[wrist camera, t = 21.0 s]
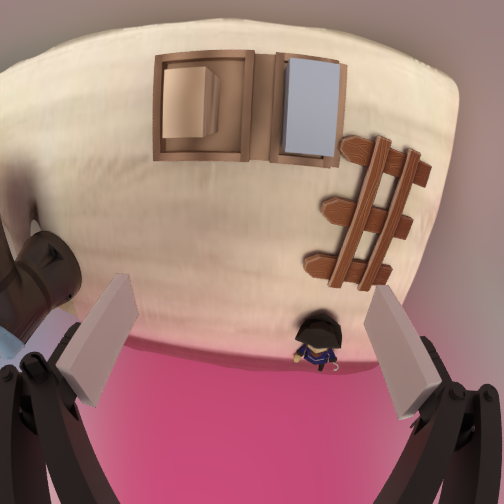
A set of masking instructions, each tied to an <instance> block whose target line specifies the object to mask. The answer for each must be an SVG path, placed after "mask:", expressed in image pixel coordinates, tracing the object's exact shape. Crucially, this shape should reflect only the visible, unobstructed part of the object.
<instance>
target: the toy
mask: <svg viewBox="0 0 504 504" xmlns="http://www.w3.org/2000/svg"><path fill="white" fill-rule="evenodd" d="M295 340H297V341H300V342H302V343H305V344H304V345H303V346H302V347H301V348H300V349H299V350H297V352H296V354H295V355H294V362H299V360H300V357H302V356H303V355H304V351H305V350H306V349H307V351H306V352H305V356H304V359H306V360H307V361H309V362H311V363H312V364H314V365H316V364H319V369H318V371H322V370H323V367H324V364H325V363H327V361H328V360H329V362H333V363H334V362H336V361H337V357H335V354H334V352H333V350H332V348H341V343H342V333H341V327H340V325H339V324H338V323H337V322H336V321H335V320H333V319H332V318H331V317H329V316H328V315H326V314H325V313H323V314H319V315H315V316H312V317H310V318H307V319H306V320H305V321H304V323H303V324H302V326H301V327H300V329H299V331H298V333H297V335H296V338H295ZM328 354H329V355H328ZM328 358H329V359H328ZM334 364H335V365H337V367H338V368H339V366H338V364H336V363H334ZM338 368H337V369H338ZM337 369H334V370H335V371H336V370H337Z"/></svg>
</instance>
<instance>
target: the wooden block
mask: <svg viewBox="0 0 504 504" xmlns="http://www.w3.org/2000/svg"><path fill="white" fill-rule="evenodd" d="M220 80H221V79H220V78H219V77H218V76H216V75H215V74H214V73H213V72H212V71H210V70H209V69H208V68H207V67H191V68H178V69H167V70H165V71H164V92H163V138H182V137H205V136H208V135H211V134H214V133H217V132H218V123H219V99H220Z"/></svg>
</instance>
